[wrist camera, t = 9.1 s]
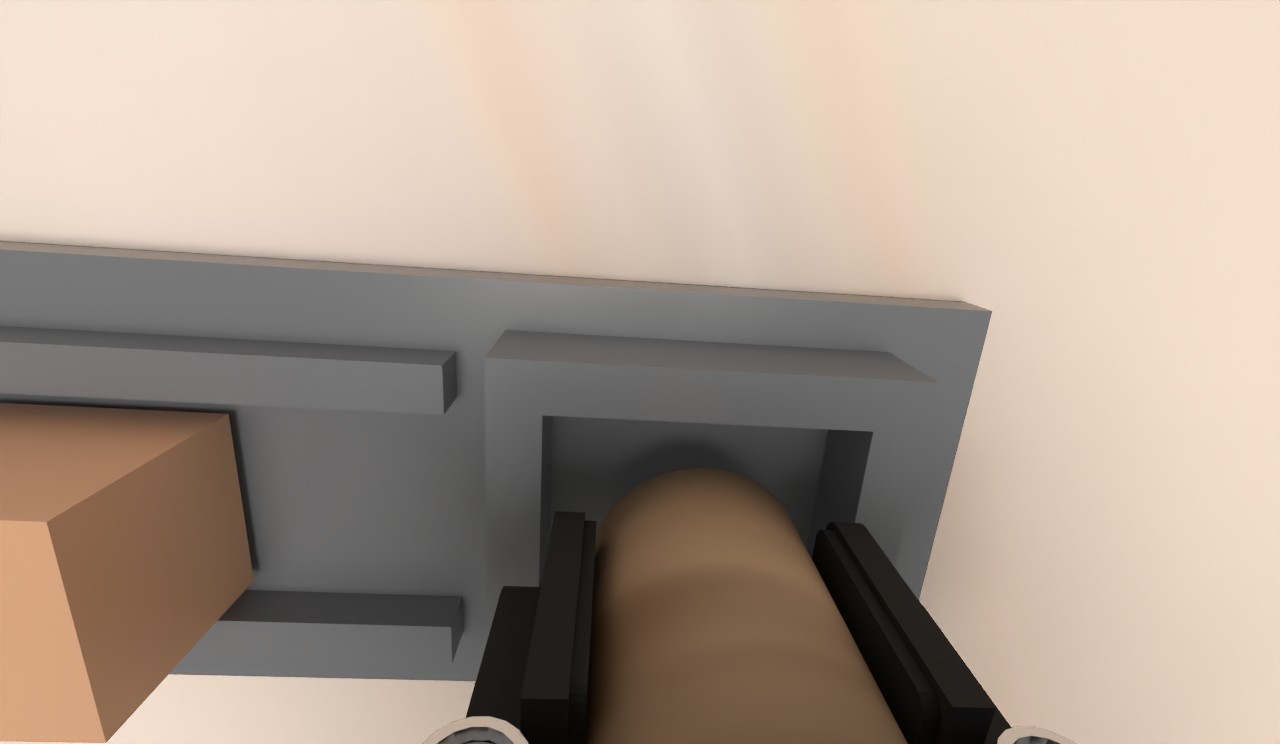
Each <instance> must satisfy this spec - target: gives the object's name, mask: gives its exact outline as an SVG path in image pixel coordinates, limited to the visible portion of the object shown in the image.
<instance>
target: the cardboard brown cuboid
mask: <svg viewBox="0 0 1280 744" xmlns="http://www.w3.org/2000/svg"><path fill="white" fill-rule="evenodd" d="M253 581H254V578H253V571H252V564H251V558H250V551H249V545H248V538H247V532H246V525H245V519H244V512H243V506H242V499H241V492H240V486H239V479H238V473H237V466H236V460H235V453H234V447H233V440H232V434H231V427H230V421H229V414H220V413H200V412H179V411H158V410H137V409H116V408H95V407H74V406H53V405H32V404H11V403H0V741H26V742H88V743H106V742H107V741H108V740H109V739H110V738H111V737H112V736H113V735H114V733H115V732H116V731H117V730H118V729H119V728H120V727H121V726H122V725H123V724H124V722H125V721H126V720H127V719H128V718H129V717H130V716H131V715H132V714H133V713H134V711H135V710H136V709H137V708H138V707H139V706H140V705H141V704H142V703H143V702H144V701H145V699H146V698H147V697H148V696H149V695H150V694H151V693H152V692H153V691H154V690H155V688H156V687H157V686H158V685H159V684H160V683H161V682H162V681H163V680H164V679H165V677H166V676H167V675H168V674H169V673H170V672H171V671H172V670H173V669H174V668H175V667H176V665H177V664H178V663H179V662H180V661H181V660H182V659H183V658H184V657H185V656H186V654H187V653H188V652H189V651H190V650H191V649H192V648H193V647H194V646H195V645H196V644H197V642H198V641H199V640H200V639H201V638H202V637H203V636H204V635H205V634H206V633H207V631H208V630H209V629H210V628H211V627H212V626H213V625H214V624H215V623H216V622H217V620H218V619H219V618H220V617H221V616H222V615H223V614H224V613H225V612H226V611H227V610H228V608H229V607H230V606H231V605H232V604H233V603H234V602H235V601H236V600H237V599H238V597H239V596H240V595H241V594H242V593H243V592H244V591H245V590H246V589H247V588H248V586H249V585H250V584H251V583H252V582H253Z"/></svg>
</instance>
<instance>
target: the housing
mask: <svg viewBox="0 0 1280 744" xmlns="http://www.w3.org/2000/svg"><path fill="white" fill-rule="evenodd" d="M991 313H992V311H990V310H987V309H984V308H981V307H978V306H975V305H972V304H969V303H966V302H957V301H941V300H925V299H909V298H893V297H877V296H861V295H846V294H830V293H814V292H798V291H782V290H766V289H750V288H735V287H719V286H703V285H687V284H671V283H655V282H639V281H624V280H608V279H592V278H576V277H560V276H544V275H528V274H513V273H497V272H481V271H465V270H449V269H433V268H417V267H402V266H386V265H370V264H354V263H338V262H322V261H306V260H291V259H275V258H259V257H243V256H227V255H211V254H195V253H180V252H164V251H148V250H132V249H116V248H100V247H84V246H69V245H53V244H37V243H21V242H5V241H0V403H11V404H32V405H53V406H74V407H95V408H116V409H137V410H158V411H179V412H200V413H220V414H229V421H230V427H231V434H232V440H233V447H234V453H235V460H236V466H237V473H238V479H239V486H240V492H241V499H242V506H243V512H244V519H245V525H246V532H247V538H248V545H249V551H250V558H251V564H252V571H253V578H254V581H253V582H252V583H251V584H250V585H249V586H248V588H247V589H246V590H245V591H244V592H243V593H242V594H241V595H240V596H239V597H238V599H237V600H236V601H235V602H234V603H233V604H232V605H231V606H230V607H229V608H228V610H227V611H226V612H225V613H224V614H223V615H222V616H221V617H220V618H219V619H218V620H217V622H216V623H215V624H214V625H213V626H212V627H211V628H210V629H209V630H208V631H207V633H206V634H205V635H204V636H203V637H202V638H201V639H200V640H199V641H198V642H197V644H196V645H195V646H194V647H193V648H192V649H191V650H190V651H189V652H188V653H187V654H186V656H185V657H184V658H183V659H182V660H181V661H180V662H179V663H178V664H177V665H176V667H175V668H174V669H173V670H172V671H171V672H170V673H169V674H184V675H228V676H273V677H317V678H361V679H405V680H450V681H476V679H477V676H478V672H479V668H480V665H481V661H482V658H483V654H484V650H485V647H486V643H487V640H488V636H489V632H490V629H491V625H492V622H493V618H494V614H495V611H496V607H497V604H498V600H499V596H500V593H501V590H502V588H503V587H504V586H525V587H541V584H542V579H543V573H544V568H545V562H546V557H547V551H548V546H549V540H550V535H551V529H552V524H553V518H554V513H555V511H565V512H585V521H597V522H596V533H597V531H598V529H599V526H600V524H601V522H602V521H603V519H604V518H605V516H606V515H607V513H608V512H609V511H610V509H611V508H612V507H613V506H614V505H615V504H616V502H618V501H619V500H620V499H621V498H622V497H623V496H624V495H625V494H626V493H628V492H629V491H631V490H632V489H634V488H635V487H636V486H638V485H640V484H642V483H644V482H645V481H647V480H649V479H652V478H654V477H657V476H659V475H662V474H665V473H669V472H673V471H677V470H684V469H691V468H709V469H718V470H724V471H728V472H733V473H736V474H738V475H741V476H744V477H747V478H749V479H750V480H752V481H754V482H756V483H758V484H760V485H761V486H762V487H764V488H765V489H767V490H768V491H769V492H770V493H772V494H773V495H774V496H775V497H776V498H777V499H778V500H779V501H780V503H781V504H782V505H783V507H784V508H785V509H786V511H787V512H788V514H789V516H790V518H791V520H792V521H793V523H794V525H795V527H796V529H797V531H798V533H799V535H800V537H801V539H802V541H803V543H804V545H805V547H806V548H807V550H808V552H809V554H810V556H811V558H812V555H813V550H814V544H815V539H816V535H817V532H818V531H819V530H820V529H821V530H826V527H827V525H828V523H830V522H846V523H861V524H863V525H864V526H865V527H866V528H867V530H868V531H869V532H870V534H871V535H872V536H873V538H874V539H875V541H876V542H877V543H878V545H879V546H880V548H881V549H882V550H883V552H884V553H885V555H886V556H887V557H888V559H889V560H890V561H891V563H892V564H893V566H894V567H895V568H896V570H897V571H898V573H899V574H900V575H901V577H902V578H903V580H904V581H905V582H906V584H907V585H908V586H909V588H910V589H911V591H912V592H913V593H914V595H915V596H916V598H917V599H918V600H919V597H920V593H921V589H922V585H923V581H924V577H925V573H926V569H927V565H928V561H929V557H930V553H931V549H932V545H933V541H934V538H935V534H936V530H937V526H938V522H939V518H940V514H941V510H942V506H943V502H944V498H945V494H946V490H947V486H948V482H949V479H950V475H951V471H952V467H953V463H954V459H955V455H956V451H957V447H958V443H959V439H960V435H961V431H962V427H963V423H964V420H965V416H966V412H967V408H968V404H969V400H970V396H971V392H972V388H973V384H974V380H975V376H976V372H977V368H978V365H979V361H980V357H981V353H982V349H983V345H984V341H985V337H986V333H987V329H988V325H989V321H990V317H991Z"/></svg>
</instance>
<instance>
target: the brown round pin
mask: <svg viewBox="0 0 1280 744" xmlns="http://www.w3.org/2000/svg"><path fill="white" fill-rule="evenodd" d="M585 744H908V743H907V741H906V739H905V737H904V735H903V734H902V732H901V730H900V728H899V726H898V724H897V722H896V720H895V718H894V716H893V714H892V712H891V710H890V708H889V707H888V705H887V703H886V701H885V699H884V697H883V695H882V693H881V691H880V689H879V687H878V685H877V683H876V681H875V680H874V678H873V676H872V674H871V672H870V670H869V668H868V666H867V664H866V662H865V660H864V658H863V656H862V654H861V653H860V651H859V649H858V647H857V645H856V643H855V641H854V639H853V637H852V635H851V633H850V631H849V629H848V628H847V626H846V624H845V622H844V620H843V618H842V616H841V614H840V612H839V610H838V608H837V606H836V604H835V602H834V601H833V599H832V597H831V595H830V593H829V591H828V589H827V587H826V585H825V583H824V581H823V579H822V577H821V575H820V574H819V572H818V570H817V568H816V566H815V564H814V562H813V560H812V558H811V556H810V554H809V552H808V550H807V548H806V547H805V545H804V543H803V541H802V539H801V537H800V535H799V533H798V531H797V529H796V527H795V525H794V523H793V521H792V520H791V518H790V516H789V514H788V512H787V511H786V509H785V508H784V507H783V505H782V504H781V503H780V501H779V500H778V499H777V498H776V497H775V496H774V495H773V494H772V493H770V492H769V491H768V490H767V489H765V488H764V487H762V486H761V485H760V484H758V483H756V482H754V481H752V480H750V479H749V478H747V477H744V476H741V475H738V474H736V473H733V472H728V471H724V470H718V469H709V468H691V469H684V470H677V471H673V472H669V473H665V474H662V475H659V476H657V477H654V478H652V479H649V480H647V481H645V482H644V483H642V484H640V485H638V486H636V487H635V488H634V489H632V490H631V491H629V492H628V493H626V494H625V495H624V496H623V497H622V498H621V499H620V500H619V501H618V502H616V504H615V505H614V506H613V507H612V508H611V509H610V511H609V512H608V513H607V515H606V516H605V518H604V519H603V521H602V522H601V524H600V526H599V529H598V531H597V533H596V541H595V559H594V578H593V596H592V615H591V633H590V652H589V670H588V689H587V708H586V726H585Z"/></svg>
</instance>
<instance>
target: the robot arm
mask: <svg viewBox="0 0 1280 744" xmlns="http://www.w3.org/2000/svg"><path fill="white" fill-rule="evenodd" d="M596 522H597V521H585V512H565V511H555V513H554V518H553V524H552V529H551V535H550V540H549V546H548V551H547V557H546V562H545V568H544V573H543V579H542V584H541V587H525V586H504V587H503V588H502V590H501V593H500V596H499V600H498V604H497V607H496V611H495V614H494V618H493V622H492V625H491V629H490V632H489V636H488V640H487V643H486V647H485V650H484V654H483V658H482V661H481V665H480V668H479V672H478V676H477V679H476V683H475V687H474V690H473V694H472V697H471V701H470V705H469V708H468V712H467V715H466V718H465V719H461V720H457V721H454V722H452V723H450V724H448V725H446V726H444V727H443V728H441V729H439V730H437V731H436V732H434V733H433V734H432V735H431V736H430V737H429V738H428V739H427V740H426V741H424V742H423V743H422V744H585V726H586V708H587V689H588V670H589V652H590V633H591V615H592V596H593V578H594V559H595V541H596ZM812 560H813V562H814V564H815V566H816V568H817V570H818V572H819V574H820V575H821V577H822V579H823V581H824V583H825V585H826V587H827V589H828V591H829V593H830V595H831V597H832V599H833V601H834V602H835V604H836V606H837V608H838V610H839V612H840V614H841V616H842V618H843V620H844V622H845V624H846V626H847V628H848V629H849V631H850V633H851V635H852V637H853V639H854V641H855V643H856V645H857V647H858V649H859V651H860V653H861V654H862V656H863V658H864V660H865V662H866V664H867V666H868V668H869V670H870V672H871V674H872V676H873V678H874V680H875V681H876V683H877V685H878V687H879V689H880V691H881V693H882V695H883V697H884V699H885V701H886V703H887V705H888V707H889V708H890V710H891V712H892V714H893V716H894V718H895V720H896V722H897V724H898V726H899V728H900V730H901V732H902V734H903V735H904V737H905V739H906V741H907V743H908V744H1076V743H1075V742H1073V741H1071V740H1069V739H1067V738H1065V737H1063V736H1060V735H1058V734H1056V733H1054V732H1051V731H1048V730H1044V729H1040V728H1037V727H1029V726H1016V727H1013V728H1011V727H1010V725H1009V724H1008V722H1007V721H1006V720H1005V718H1004V717H1003V716H1002V714H1001V713H1000V711H999V710H998V709H997V707H996V706H995V704H994V703H993V702H992V700H991V699H990V698H989V696H988V695H987V693H986V692H985V691H984V689H983V688H982V686H981V685H980V684H979V682H978V681H977V680H976V678H975V677H974V675H973V674H972V673H971V671H970V670H969V668H968V667H967V666H966V664H965V663H964V662H963V660H962V659H961V657H960V656H959V655H958V653H957V652H956V650H955V649H954V648H953V646H952V645H951V644H950V642H949V641H948V639H947V638H946V637H945V635H944V634H943V632H942V631H941V630H940V628H939V627H938V626H937V624H936V623H935V621H934V620H933V619H932V617H931V616H930V614H929V613H928V612H927V610H926V609H925V608H924V607H923V606H922V604H921V603H920V602H919V600H918V599H917V598H916V596H915V595H914V593H913V592H912V591H911V589H910V588H909V586H908V585H907V584H906V582H905V581H904V580H903V578H902V577H901V575H900V574H899V573H898V571H897V570H896V568H895V567H894V566H893V564H892V563H891V561H890V560H889V559H888V557H887V556H886V555H885V553H884V552H883V550H882V549H881V548H880V546H879V545H878V543H877V542H876V541H875V539H874V538H873V536H872V535H871V534H870V532H869V531H868V530H867V528H866V527H865V526H864V525H863V524H861V523H846V522H830V523H828V525H827V527H826V530H821V529H820V530H819V531H818V532H817V535H816V539H815V544H814V550H813V555H812Z"/></svg>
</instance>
